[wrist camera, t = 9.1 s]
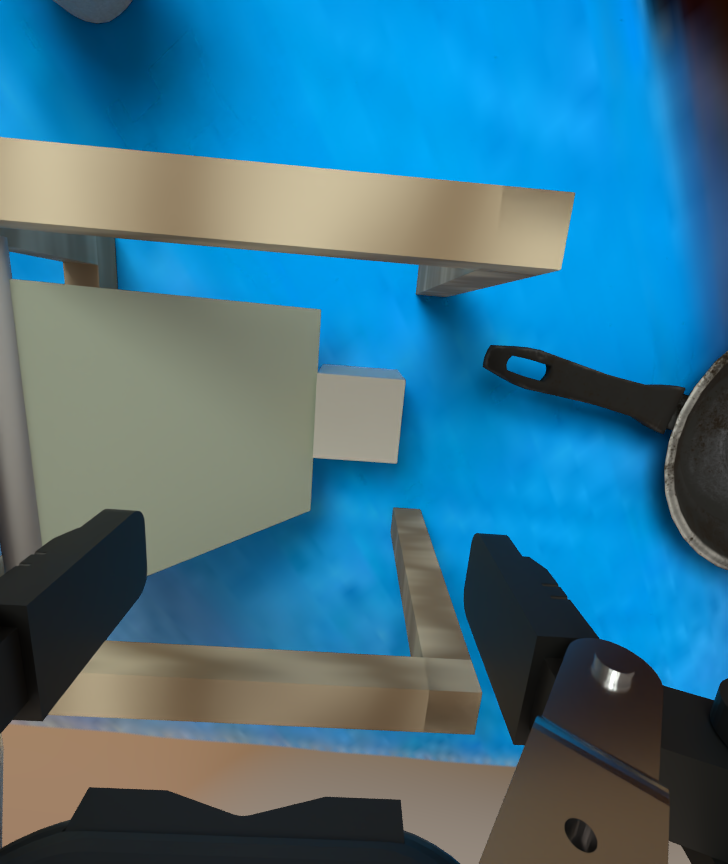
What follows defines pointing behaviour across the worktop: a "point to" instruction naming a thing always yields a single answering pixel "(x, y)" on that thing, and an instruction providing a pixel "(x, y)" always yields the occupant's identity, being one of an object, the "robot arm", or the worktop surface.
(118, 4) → the house plant
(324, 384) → the cube
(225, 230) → the frame
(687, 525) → the frying pan
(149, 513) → the trapdoor
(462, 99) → the worktop surface
